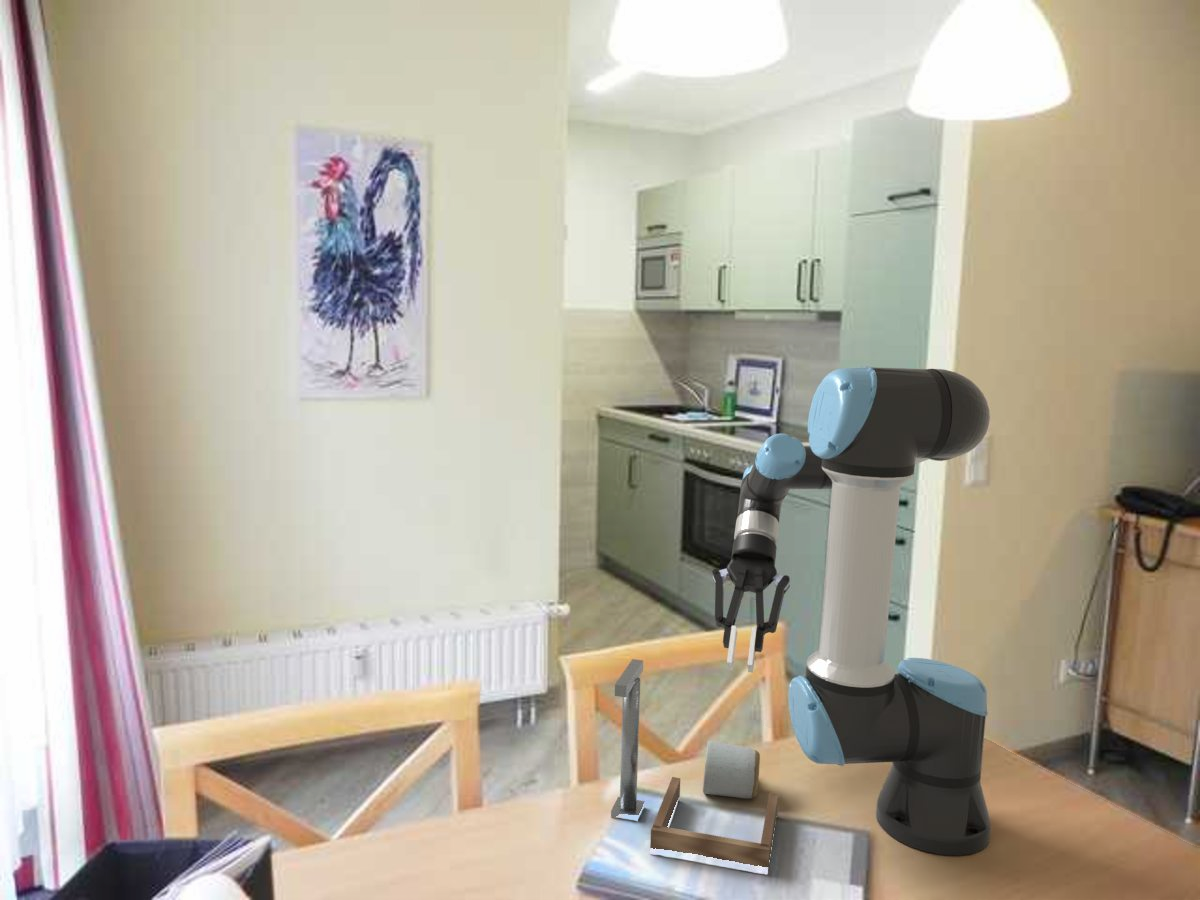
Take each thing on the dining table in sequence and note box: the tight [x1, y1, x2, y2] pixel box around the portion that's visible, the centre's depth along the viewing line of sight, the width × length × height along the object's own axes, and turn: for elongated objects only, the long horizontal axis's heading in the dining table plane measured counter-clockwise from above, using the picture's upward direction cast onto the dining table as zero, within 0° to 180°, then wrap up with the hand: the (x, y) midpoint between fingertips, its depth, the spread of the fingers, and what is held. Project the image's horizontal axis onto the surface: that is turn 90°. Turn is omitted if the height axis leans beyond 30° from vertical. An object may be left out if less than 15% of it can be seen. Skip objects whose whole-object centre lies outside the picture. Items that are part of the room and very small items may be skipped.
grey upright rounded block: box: [702, 739, 761, 799], centre depth 134 cm, size 11×8×8 cm
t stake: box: [610, 658, 646, 819], centre depth 124 cm, size 4×10×22 cm, turn 164°
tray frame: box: [649, 776, 779, 868], centre depth 121 cm, size 15×15×4 cm
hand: (739, 667), depth 140 cm, fingers open, 3 cm apart
